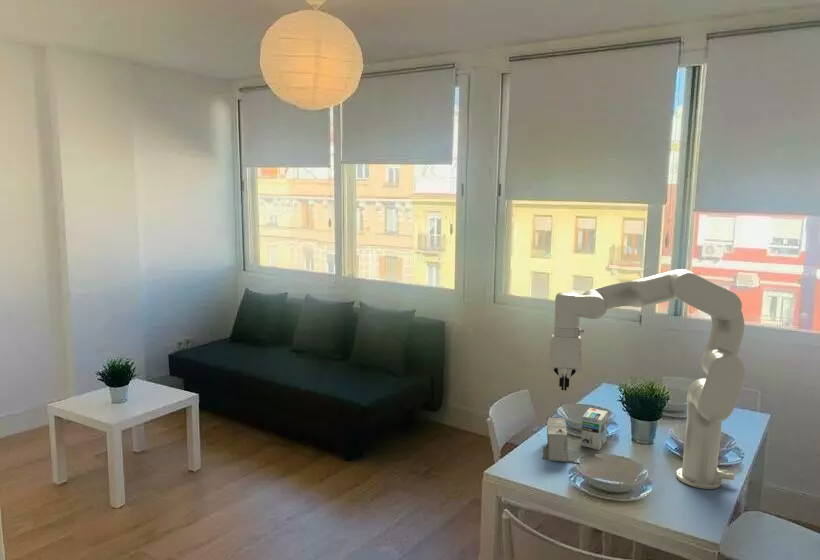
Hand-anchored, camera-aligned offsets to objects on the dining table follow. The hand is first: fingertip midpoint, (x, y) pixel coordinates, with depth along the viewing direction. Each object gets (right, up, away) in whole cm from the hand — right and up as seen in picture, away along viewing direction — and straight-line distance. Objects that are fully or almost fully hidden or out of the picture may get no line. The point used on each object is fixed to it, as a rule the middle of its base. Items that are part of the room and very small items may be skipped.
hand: (563, 389), depth 191 cm
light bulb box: (+16, -23, +22) cm, 35 cm away
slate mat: (+2, -24, +10) cm, 26 cm away
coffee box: (-1, -20, +4) cm, 20 cm away
